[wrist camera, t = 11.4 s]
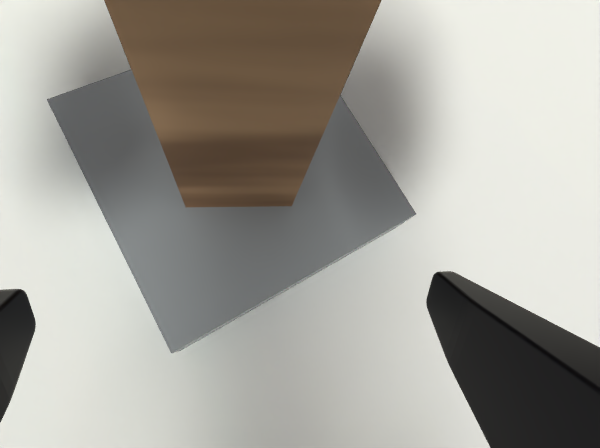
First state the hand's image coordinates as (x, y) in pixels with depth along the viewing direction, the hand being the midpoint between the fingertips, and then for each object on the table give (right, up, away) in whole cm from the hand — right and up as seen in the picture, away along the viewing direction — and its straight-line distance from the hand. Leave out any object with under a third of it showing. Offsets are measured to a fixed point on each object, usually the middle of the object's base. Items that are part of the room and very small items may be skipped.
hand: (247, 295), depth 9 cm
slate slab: (-2, +4, +11) cm, 12 cm away
